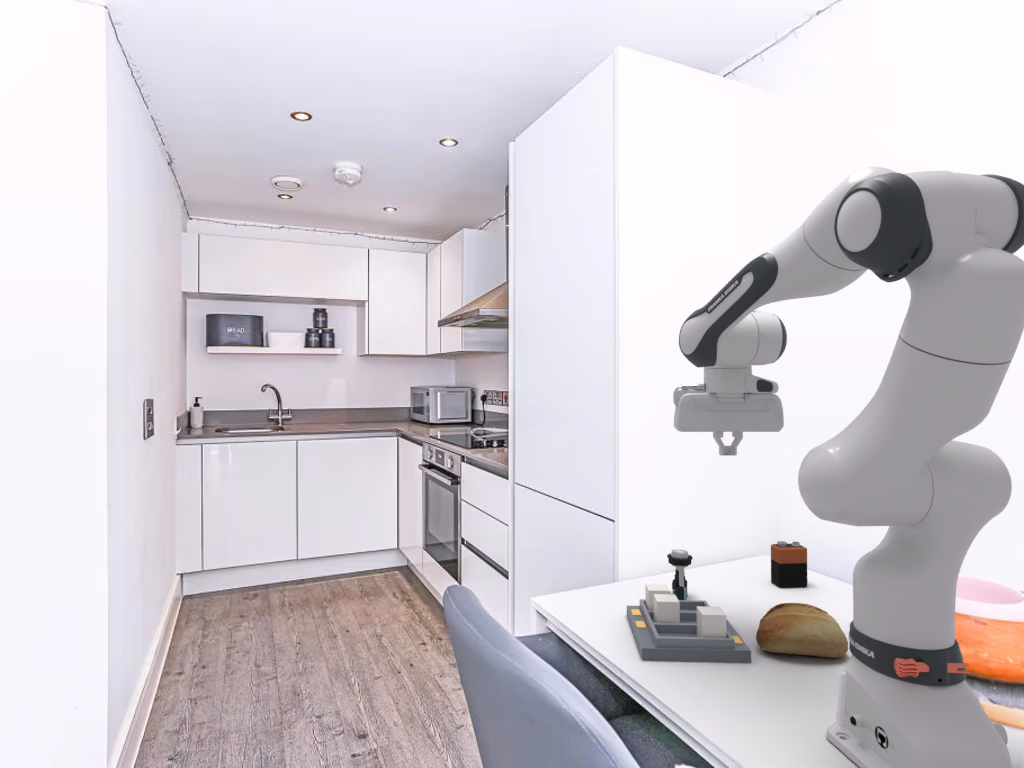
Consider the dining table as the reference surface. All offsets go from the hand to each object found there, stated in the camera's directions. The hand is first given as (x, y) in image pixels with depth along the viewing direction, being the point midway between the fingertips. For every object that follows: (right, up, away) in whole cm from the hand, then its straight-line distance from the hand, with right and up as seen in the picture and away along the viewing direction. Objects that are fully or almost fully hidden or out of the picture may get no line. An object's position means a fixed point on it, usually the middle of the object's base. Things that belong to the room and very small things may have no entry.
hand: (727, 455), depth 117 cm
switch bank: (-10, -33, -6) cm, 35 cm away
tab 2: (-13, -31, -6) cm, 34 cm away
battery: (+22, -33, +23) cm, 46 cm away
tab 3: (-7, -31, -12) cm, 34 cm away
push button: (-5, -33, +16) cm, 37 cm away
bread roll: (+8, -33, -12) cm, 36 cm away
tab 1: (-14, -31, 0) cm, 34 cm away
